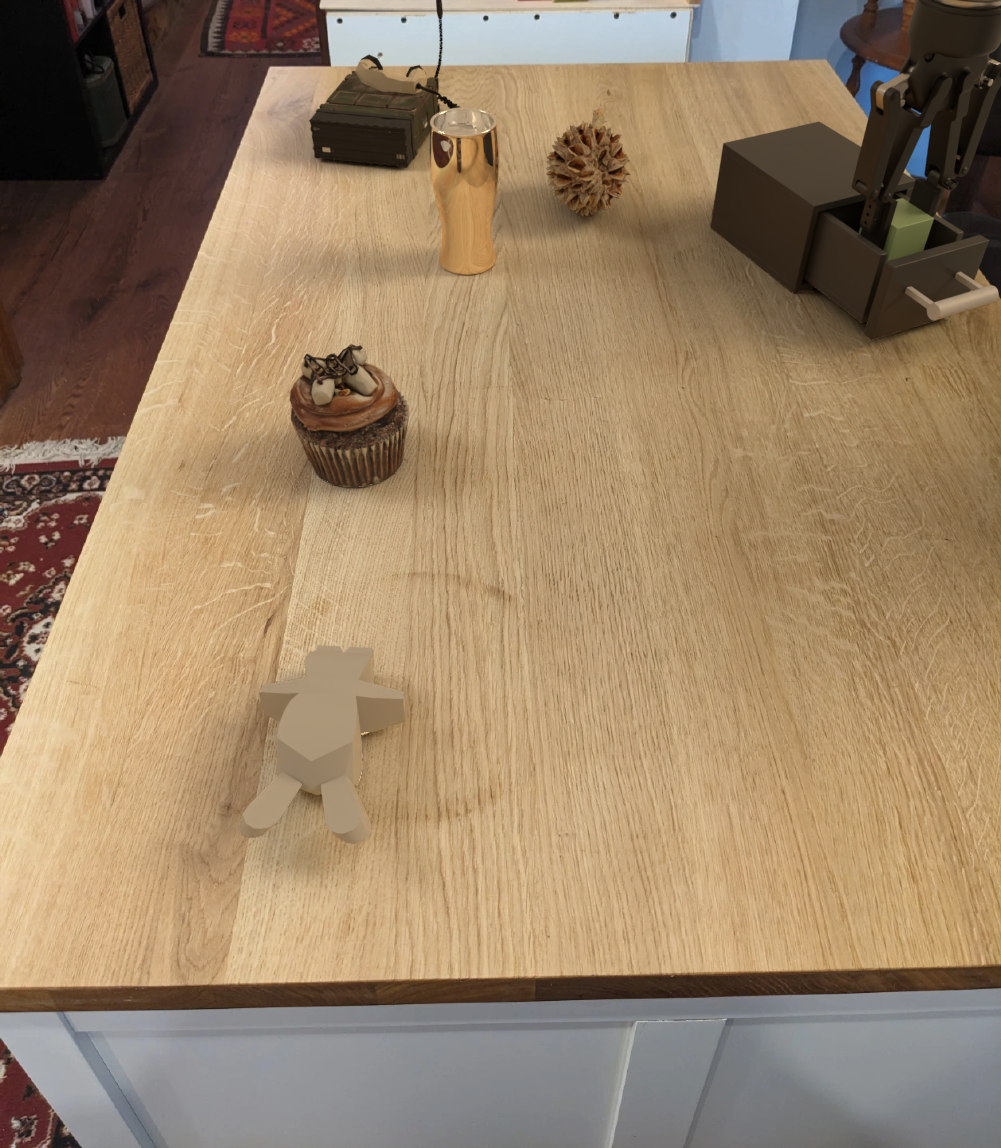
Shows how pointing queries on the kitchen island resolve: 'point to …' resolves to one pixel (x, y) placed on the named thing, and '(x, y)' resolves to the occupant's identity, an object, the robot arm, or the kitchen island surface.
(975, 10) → the robot arm
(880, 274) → the drawer
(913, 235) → the block
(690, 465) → the kitchen island surface
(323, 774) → the teddy bear
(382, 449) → the cupcake
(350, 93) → the radio
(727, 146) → the cabinet
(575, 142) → the pine cone
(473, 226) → the beer glass
